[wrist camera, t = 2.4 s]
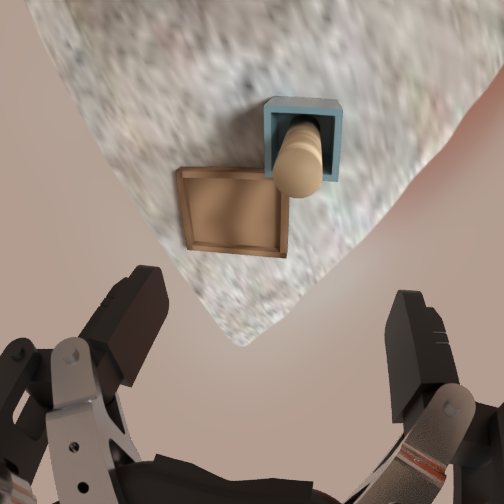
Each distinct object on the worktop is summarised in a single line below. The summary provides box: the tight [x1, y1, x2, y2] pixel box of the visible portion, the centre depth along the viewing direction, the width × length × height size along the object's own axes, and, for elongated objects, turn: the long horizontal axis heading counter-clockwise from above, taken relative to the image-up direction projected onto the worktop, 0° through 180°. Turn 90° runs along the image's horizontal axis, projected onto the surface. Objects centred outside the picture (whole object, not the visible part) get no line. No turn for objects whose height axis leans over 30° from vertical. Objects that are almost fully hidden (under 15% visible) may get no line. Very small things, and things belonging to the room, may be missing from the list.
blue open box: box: [264, 96, 343, 182], centre depth 29 cm, size 7×7×7 cm
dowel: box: [272, 114, 323, 198], centre depth 25 cm, size 3×3×14 cm
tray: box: [176, 167, 289, 258], centre depth 38 cm, size 13×11×2 cm
